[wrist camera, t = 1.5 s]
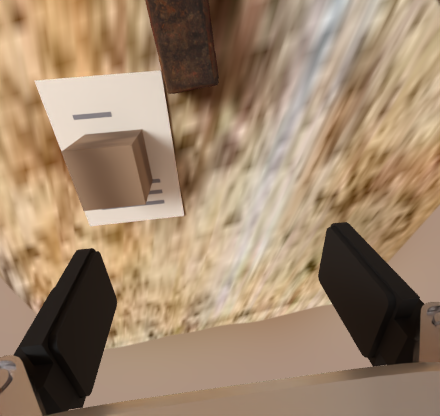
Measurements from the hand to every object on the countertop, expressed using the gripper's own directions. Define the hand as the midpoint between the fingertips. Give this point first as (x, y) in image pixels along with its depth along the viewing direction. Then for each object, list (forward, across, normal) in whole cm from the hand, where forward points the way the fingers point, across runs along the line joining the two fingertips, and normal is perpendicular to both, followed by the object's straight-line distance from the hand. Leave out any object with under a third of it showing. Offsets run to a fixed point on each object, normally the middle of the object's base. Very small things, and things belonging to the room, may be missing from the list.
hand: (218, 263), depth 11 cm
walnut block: (+16, +8, 0) cm, 18 cm away
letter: (+16, +8, 0) cm, 18 cm away
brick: (+17, +1, -11) cm, 20 cm away
